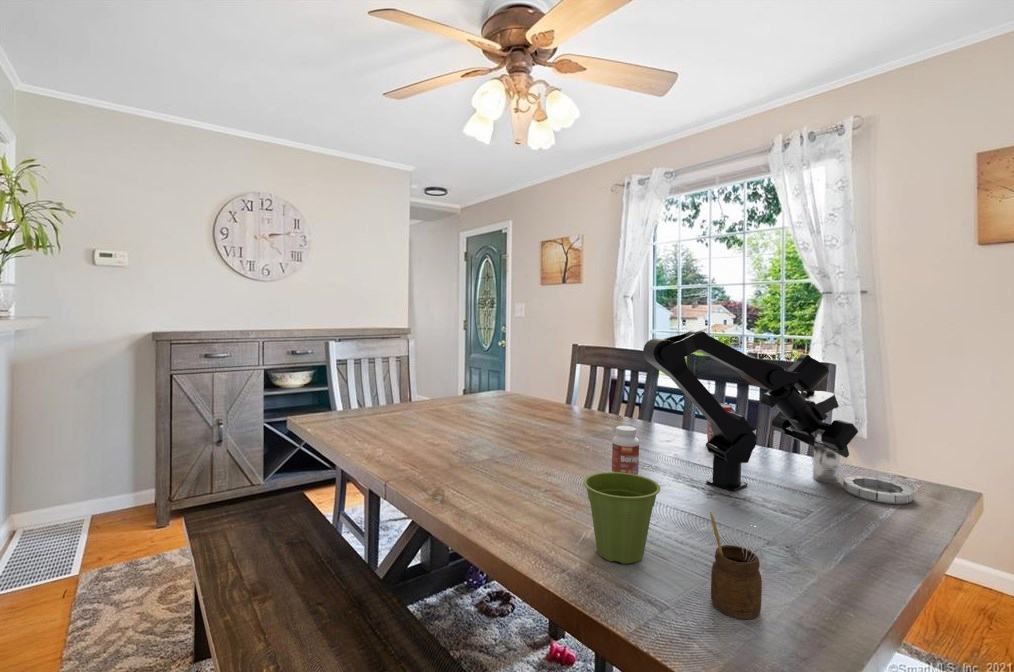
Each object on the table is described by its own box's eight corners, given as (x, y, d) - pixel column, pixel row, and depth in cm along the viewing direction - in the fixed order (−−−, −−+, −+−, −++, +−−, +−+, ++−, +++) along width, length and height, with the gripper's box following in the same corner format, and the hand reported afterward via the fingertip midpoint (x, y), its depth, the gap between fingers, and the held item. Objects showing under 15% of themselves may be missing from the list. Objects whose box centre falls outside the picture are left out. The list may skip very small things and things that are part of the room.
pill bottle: (620, 479, 110) (621, 431, 109) (606, 471, 116) (607, 425, 115) (643, 477, 112) (644, 430, 111) (629, 468, 117) (630, 424, 117)
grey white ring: (902, 509, 94) (903, 499, 94) (835, 491, 103) (836, 483, 103) (918, 496, 101) (919, 487, 101) (854, 480, 110) (854, 472, 110)
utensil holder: (768, 623, 59) (771, 528, 58) (714, 617, 60) (717, 523, 59) (752, 596, 64) (755, 508, 64) (703, 590, 66) (705, 505, 65)
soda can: (730, 450, 135) (731, 408, 134) (704, 446, 139) (705, 405, 138) (735, 445, 140) (737, 404, 140) (710, 441, 145) (711, 401, 144)
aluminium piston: (833, 485, 107) (836, 432, 107) (809, 479, 111) (811, 428, 111) (842, 480, 110) (844, 429, 110) (817, 474, 114) (819, 425, 114)
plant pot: (671, 552, 76) (673, 482, 76) (636, 582, 67) (638, 504, 67) (605, 529, 84) (607, 466, 84) (567, 553, 75) (568, 483, 75)
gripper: (852, 386, 100) (892, 435, 103) (783, 375, 118) (819, 417, 121) (819, 425, 99) (861, 474, 101) (754, 407, 117) (791, 449, 120)
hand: (831, 451), depth 111 cm, fingers open, 8 cm apart
